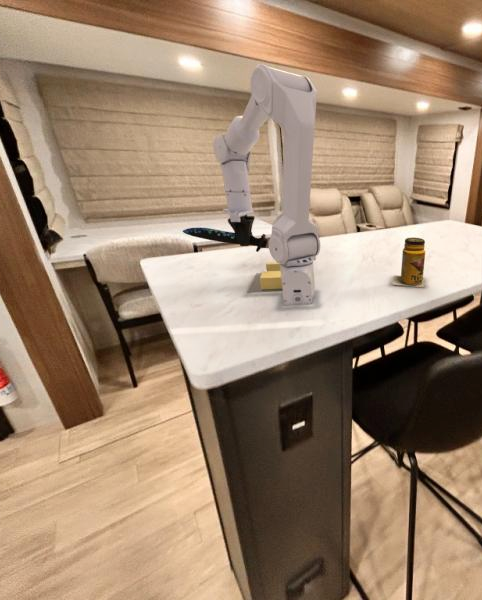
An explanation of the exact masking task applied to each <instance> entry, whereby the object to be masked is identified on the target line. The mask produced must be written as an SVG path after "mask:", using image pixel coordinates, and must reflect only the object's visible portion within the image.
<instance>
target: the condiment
mask: <svg viewBox="0 0 482 600" xmlns="http://www.w3.org/2000/svg"><path fill="white" fill-rule="evenodd" d="M425 244H426V241H425V239H424V238H422V237H421V238H420V237H406V238H405V239H404V247H403V249H402V257H401V270H400V271H401V272H400V275H393V279H392V286H405V287H414V288H425V282H424V271H425V262H426V261H425V259H426V249H425Z"/></svg>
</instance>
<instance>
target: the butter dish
mask: <svg viewBox="0 0 482 600" xmlns="http://www.w3.org/2000/svg"><path fill="white" fill-rule="evenodd" d="M261 274H262V272H260V273H256V274H255V276H254V277H253V280H252V282H251V284H250V286H249V287H248V290H247V292H246V293H247V294H249V293H251V294H252V293H272V292H273V293H275V292H283V290H282V289H264V290H261V283H260V277H261Z"/></svg>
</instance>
